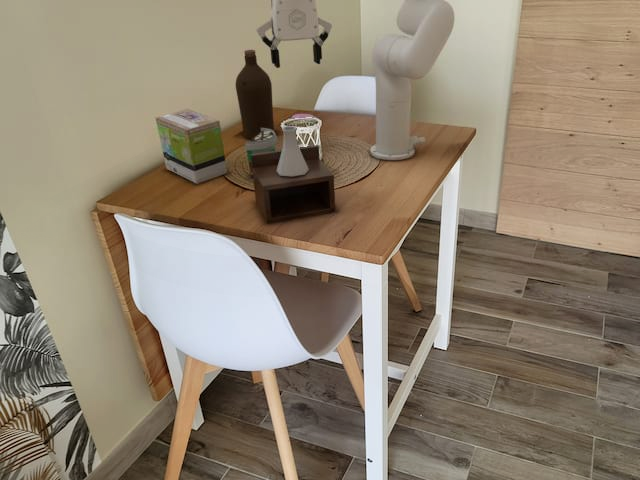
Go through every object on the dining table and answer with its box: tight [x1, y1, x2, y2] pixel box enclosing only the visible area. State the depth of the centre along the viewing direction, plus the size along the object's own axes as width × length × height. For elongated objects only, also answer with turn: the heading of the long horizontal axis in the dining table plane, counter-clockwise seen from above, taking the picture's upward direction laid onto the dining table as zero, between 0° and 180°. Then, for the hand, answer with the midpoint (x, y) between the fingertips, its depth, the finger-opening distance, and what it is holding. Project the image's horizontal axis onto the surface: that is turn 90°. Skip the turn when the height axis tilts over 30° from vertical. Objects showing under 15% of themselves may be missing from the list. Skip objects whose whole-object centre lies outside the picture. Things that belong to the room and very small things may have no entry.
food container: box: [244, 128, 279, 179], centre depth 150 cm, size 12×6×10 cm, turn 168°
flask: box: [277, 125, 309, 176], centre depth 126 cm, size 7×7×10 cm
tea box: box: [155, 108, 228, 185], centre depth 149 cm, size 15×10×15 cm
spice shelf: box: [250, 144, 336, 224], centre depth 130 cm, size 16×12×12 cm
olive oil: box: [235, 49, 275, 140], centre depth 172 cm, size 11×11×25 cm
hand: (297, 64), depth 133 cm, fingers open, 9 cm apart
